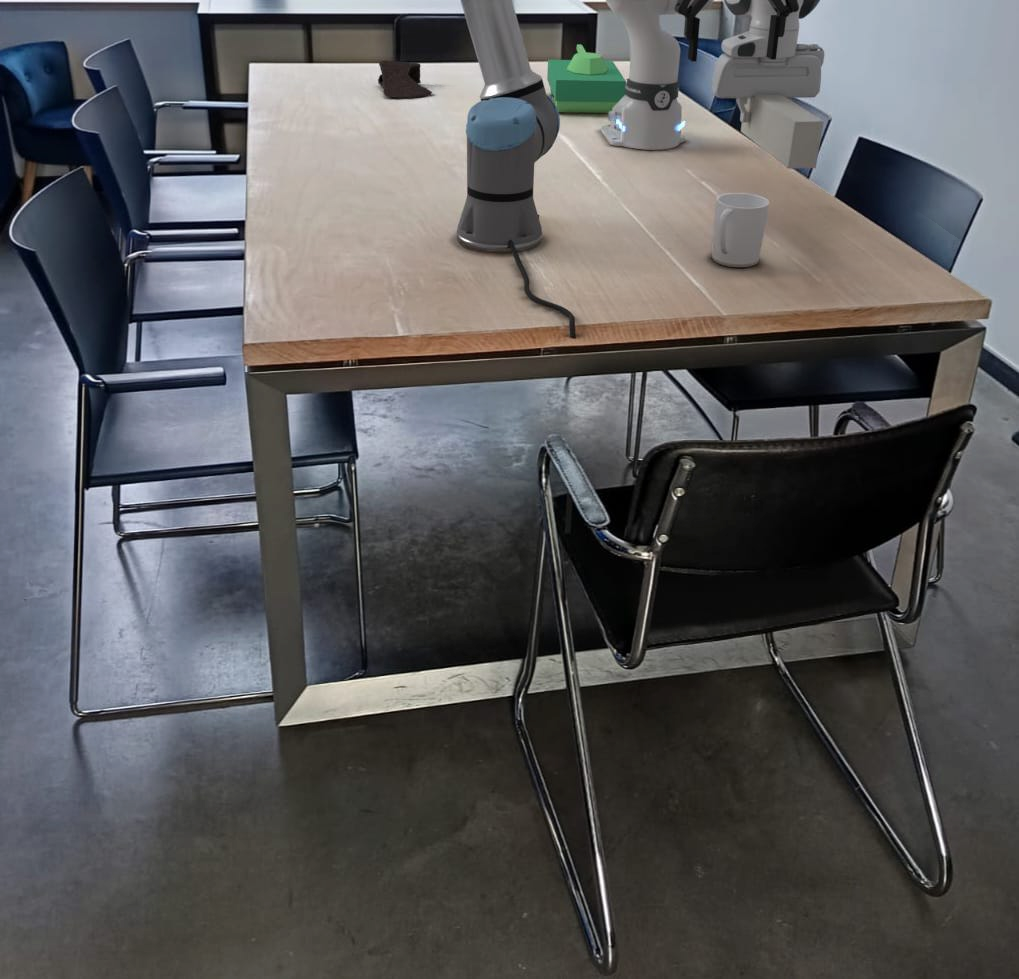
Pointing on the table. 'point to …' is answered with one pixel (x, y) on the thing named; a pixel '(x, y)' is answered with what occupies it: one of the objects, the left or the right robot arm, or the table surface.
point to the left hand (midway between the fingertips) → (731, 59)
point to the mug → (739, 229)
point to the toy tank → (585, 83)
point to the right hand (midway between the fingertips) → (761, 121)
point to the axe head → (401, 79)
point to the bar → (784, 130)
